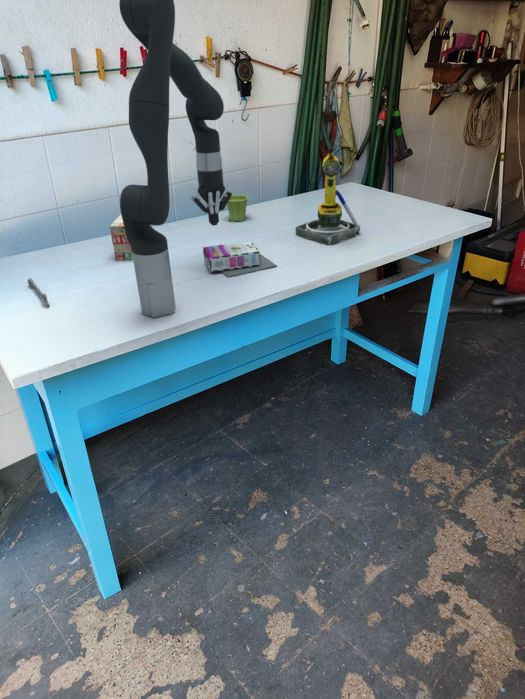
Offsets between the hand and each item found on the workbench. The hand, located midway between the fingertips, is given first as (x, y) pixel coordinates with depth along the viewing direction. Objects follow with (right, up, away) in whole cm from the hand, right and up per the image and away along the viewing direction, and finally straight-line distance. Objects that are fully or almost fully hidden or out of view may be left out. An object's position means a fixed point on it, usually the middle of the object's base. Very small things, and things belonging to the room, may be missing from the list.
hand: (214, 224), depth 163 cm
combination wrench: (-50, -24, -10) cm, 57 cm away
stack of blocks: (-30, -4, +21) cm, 37 cm away
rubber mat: (+8, -10, +8) cm, 15 cm away
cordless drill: (+39, +2, +28) cm, 48 cm away
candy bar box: (-3, -11, +2) cm, 11 cm away
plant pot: (+5, +13, +47) cm, 49 cm away
